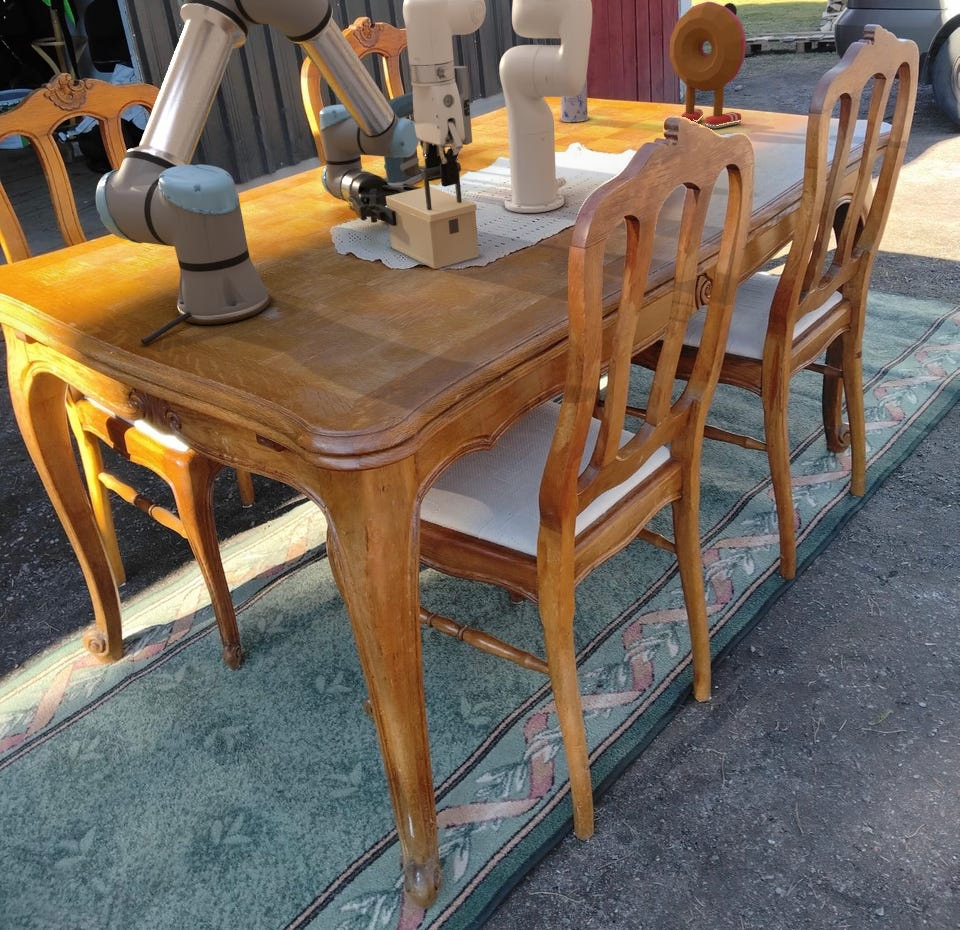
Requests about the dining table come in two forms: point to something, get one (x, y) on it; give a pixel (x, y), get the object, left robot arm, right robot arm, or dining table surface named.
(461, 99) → the clamp
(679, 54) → the toy
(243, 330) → the dining table surface
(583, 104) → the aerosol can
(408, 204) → the lid
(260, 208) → the dining table surface
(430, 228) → the chest
